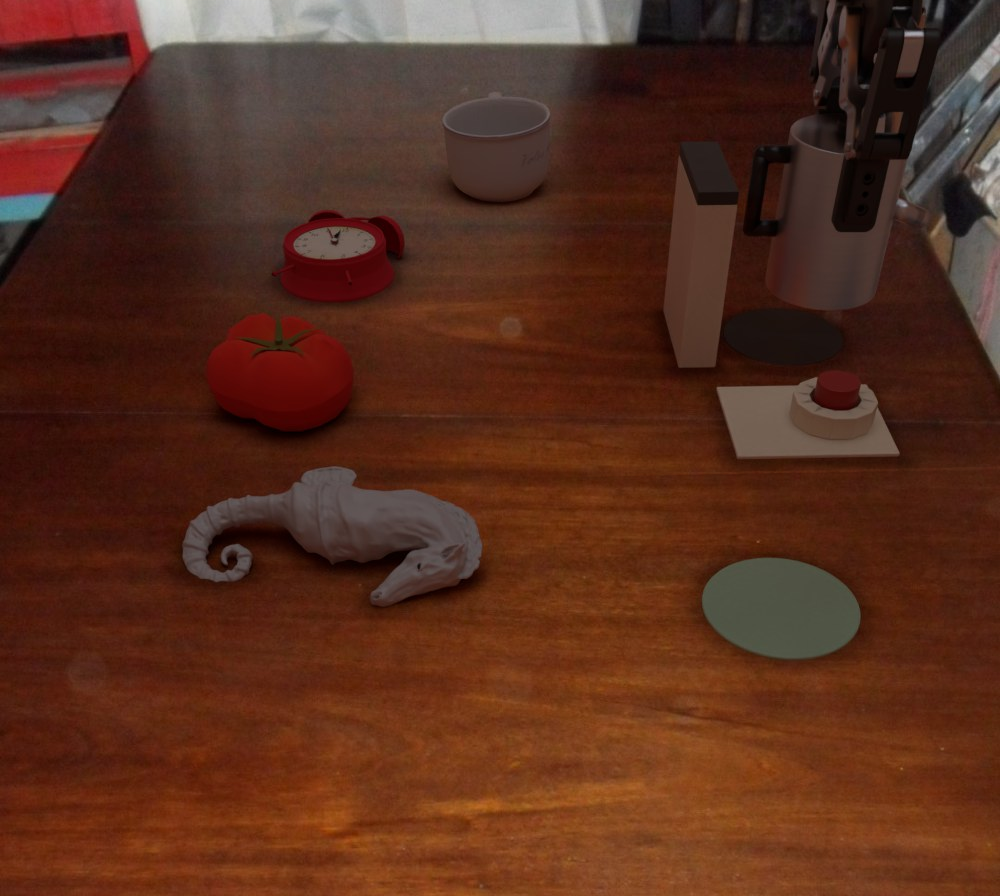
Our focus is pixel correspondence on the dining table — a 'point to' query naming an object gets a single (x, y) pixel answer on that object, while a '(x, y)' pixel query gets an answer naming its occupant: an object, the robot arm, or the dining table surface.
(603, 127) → the dining table surface
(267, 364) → the tomato
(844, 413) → the cream button base
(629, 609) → the dining table surface
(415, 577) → the seahorse
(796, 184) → the kettle
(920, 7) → the robot arm
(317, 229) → the alarm clock
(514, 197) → the teacup
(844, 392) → the power button
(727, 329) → the coffee maker plate
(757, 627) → the disc
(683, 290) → the tower
